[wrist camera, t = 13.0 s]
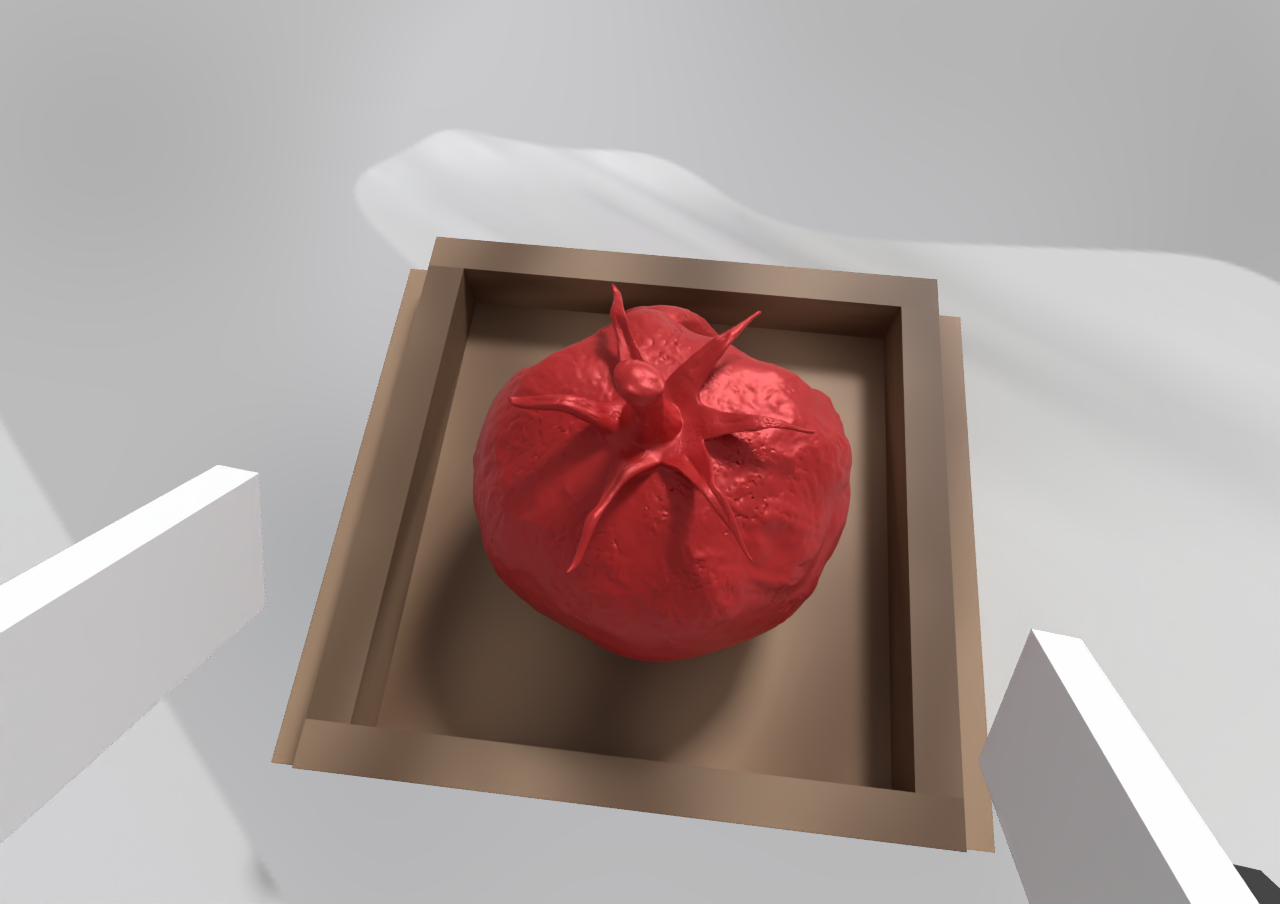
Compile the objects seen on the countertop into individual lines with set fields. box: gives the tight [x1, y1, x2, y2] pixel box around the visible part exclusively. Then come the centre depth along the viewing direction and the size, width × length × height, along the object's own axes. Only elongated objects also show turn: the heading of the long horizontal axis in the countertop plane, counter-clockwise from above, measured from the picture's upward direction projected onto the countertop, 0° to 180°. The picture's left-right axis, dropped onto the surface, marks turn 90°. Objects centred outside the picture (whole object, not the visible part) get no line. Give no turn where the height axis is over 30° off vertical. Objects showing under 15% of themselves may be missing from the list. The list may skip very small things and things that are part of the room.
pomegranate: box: [473, 284, 852, 662], centre depth 20 cm, size 10×10×9 cm
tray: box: [271, 237, 995, 853], centre depth 24 cm, size 20×17×4 cm
